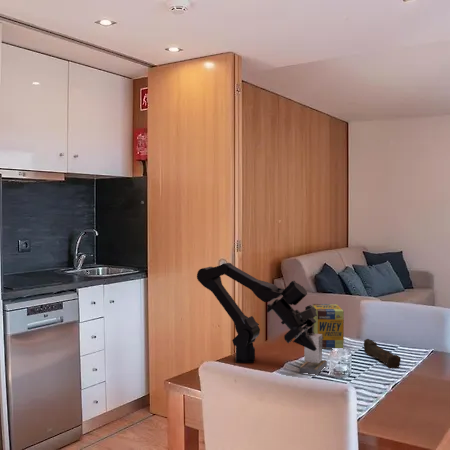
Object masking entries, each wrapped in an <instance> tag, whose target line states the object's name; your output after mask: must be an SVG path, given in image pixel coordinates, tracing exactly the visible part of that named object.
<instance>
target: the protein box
mask: <svg viewBox="0 0 450 450" xmlns="http://www.w3.org/2000/svg"><path fill="white" fill-rule="evenodd" d="M312 307H314V308H315V309H316V314H317V316H315V317H314V319H315V320H316V323H314V324H313V325H314V330H313V332H314V333H316V334H322V349H332V348H343V349H344V344H345V343H344V340H345V339H344V338H345V336H344V324H345V323H344V321H345V320H344V318H345V317H344V316H345V314H344V312H345V311H344V310H343V309H342V308H341V307H340V306H339V305H338V304H335V303H334V304H332V303H329V304H327V303H312ZM313 325H312V326H313Z"/></svg>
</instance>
